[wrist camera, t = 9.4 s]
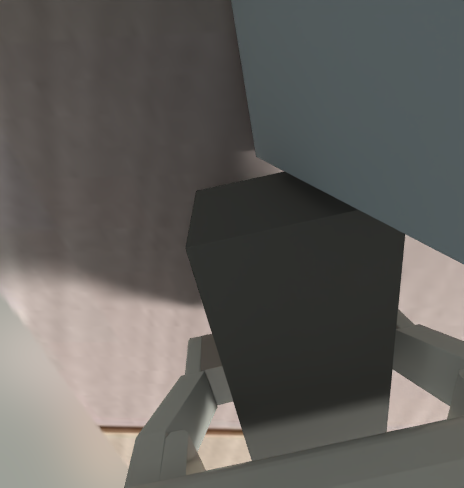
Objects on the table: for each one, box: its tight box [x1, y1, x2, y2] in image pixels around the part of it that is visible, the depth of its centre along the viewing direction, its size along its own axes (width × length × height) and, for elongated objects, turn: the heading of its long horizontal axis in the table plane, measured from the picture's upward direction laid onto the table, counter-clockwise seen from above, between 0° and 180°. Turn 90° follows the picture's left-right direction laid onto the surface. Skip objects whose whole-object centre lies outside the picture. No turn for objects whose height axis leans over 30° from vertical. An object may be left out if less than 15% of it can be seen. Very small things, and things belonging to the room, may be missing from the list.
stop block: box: [186, 172, 405, 461], centre depth 9 cm, size 8×4×5 cm, turn 12°
